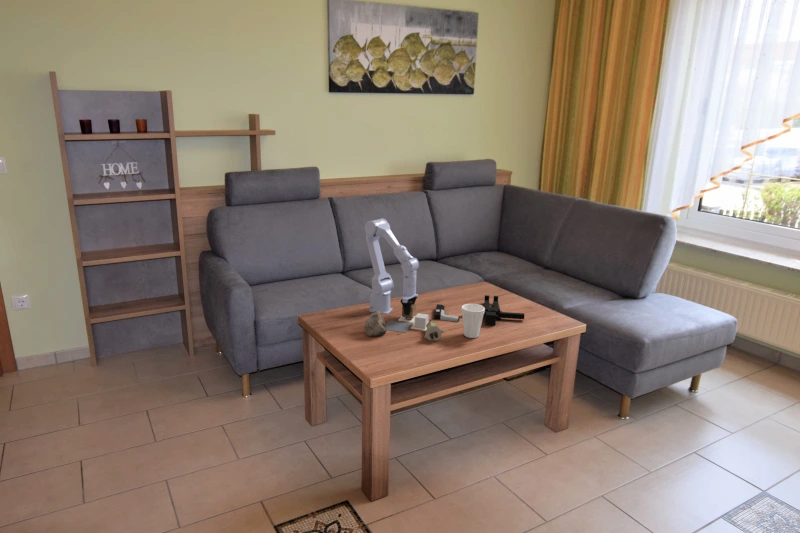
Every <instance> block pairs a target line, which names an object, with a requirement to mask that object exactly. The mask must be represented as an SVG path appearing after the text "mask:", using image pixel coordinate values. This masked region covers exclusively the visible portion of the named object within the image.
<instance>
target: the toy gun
mask: <svg viewBox="0 0 800 533" xmlns="http://www.w3.org/2000/svg"><path fill="white" fill-rule="evenodd" d="M445 308H446V307H445V305H443V304H439V303H438V304H436V306H435V311H434V312H435V313H434V315H433V320H436V321H437V320H440V321H450V322H455V323H459V321H460V317H461V316H456V315H453V314H450V313H447V312H445Z"/></svg>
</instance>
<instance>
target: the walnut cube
mask: <svg viewBox="0 0 800 533" xmlns="http://www.w3.org/2000/svg"><path fill="white" fill-rule="evenodd" d="M416 308H417V304H416V303H415V304H412V305H411V309H410V314H409V315H405V314H404V309H403V306H402V307H401V316H402V317H406V318H413V317H414V316H416V311H417V310H416Z"/></svg>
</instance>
